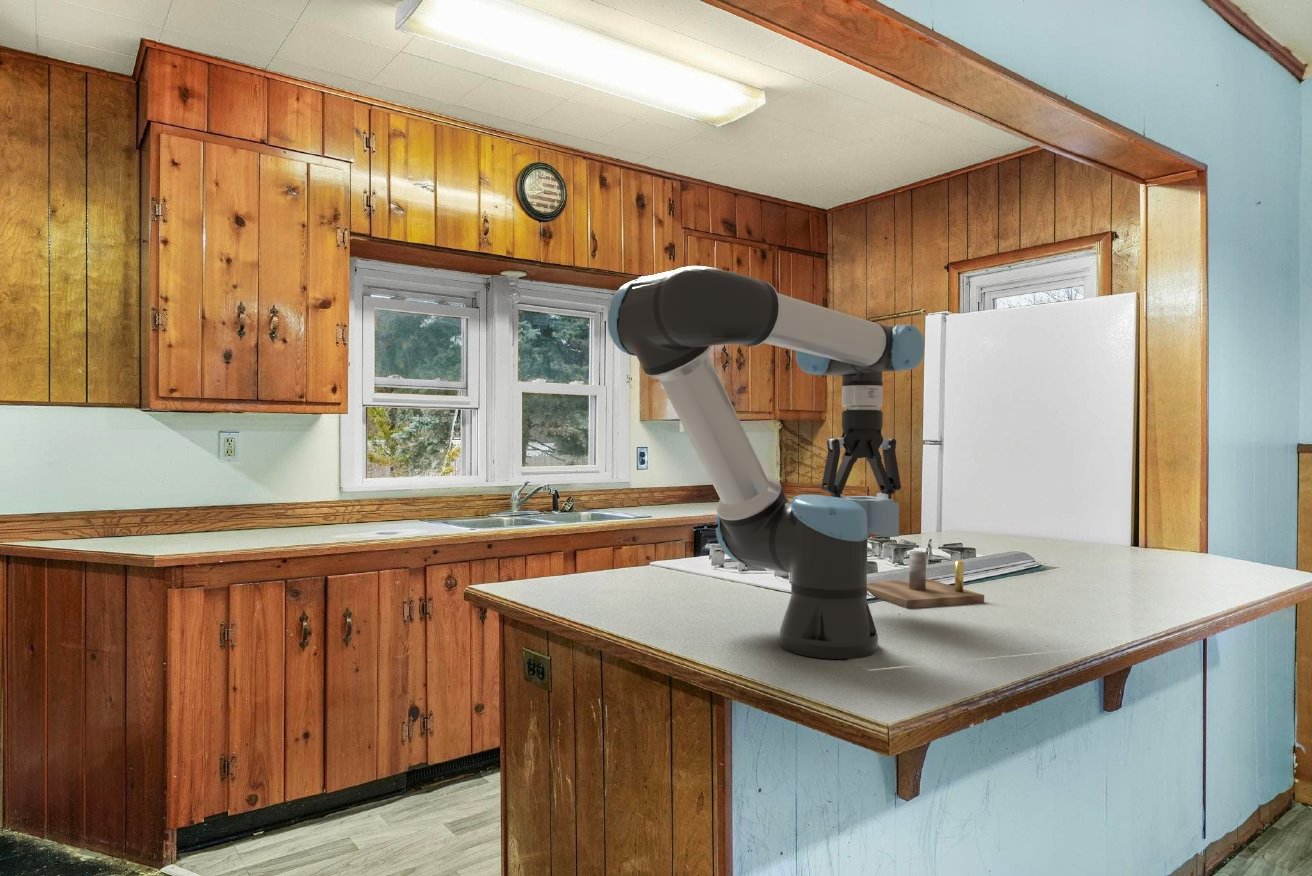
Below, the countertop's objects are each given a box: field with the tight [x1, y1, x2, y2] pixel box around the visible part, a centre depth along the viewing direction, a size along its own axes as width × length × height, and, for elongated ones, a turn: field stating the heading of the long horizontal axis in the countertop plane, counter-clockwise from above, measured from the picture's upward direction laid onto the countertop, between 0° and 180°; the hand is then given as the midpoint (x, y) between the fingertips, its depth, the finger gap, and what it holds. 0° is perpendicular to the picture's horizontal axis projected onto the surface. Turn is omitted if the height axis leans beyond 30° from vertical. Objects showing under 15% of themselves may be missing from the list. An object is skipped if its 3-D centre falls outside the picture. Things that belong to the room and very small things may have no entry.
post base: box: [867, 550, 985, 609], centre depth 165 cm, size 18×18×9 cm
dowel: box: [954, 560, 965, 592], centre depth 163 cm, size 2×2×6 cm
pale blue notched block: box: [846, 495, 900, 538], centre depth 150 cm, size 14×8×6 cm, turn 18°
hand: (861, 528), depth 153 cm, fingers closed on pale blue notched block, 8 cm apart
